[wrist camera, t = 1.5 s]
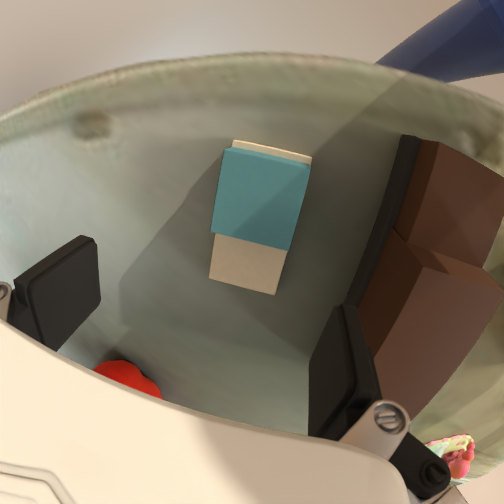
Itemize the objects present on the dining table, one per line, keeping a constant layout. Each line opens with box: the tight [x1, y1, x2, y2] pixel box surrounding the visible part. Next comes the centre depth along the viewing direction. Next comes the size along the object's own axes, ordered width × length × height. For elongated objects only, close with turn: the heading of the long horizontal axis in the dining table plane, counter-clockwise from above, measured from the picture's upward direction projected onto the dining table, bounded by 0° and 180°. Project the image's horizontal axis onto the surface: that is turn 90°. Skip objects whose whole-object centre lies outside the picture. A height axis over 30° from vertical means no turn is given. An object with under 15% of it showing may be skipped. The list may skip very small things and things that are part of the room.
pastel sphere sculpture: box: [424, 434, 475, 479], centre depth 36 cm, size 25×24×9 cm
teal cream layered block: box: [209, 140, 312, 295], centre depth 22 cm, size 12×6×4 cm, turn 168°
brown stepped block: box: [344, 135, 504, 422], centre depth 20 cm, size 24×9×9 cm, turn 168°
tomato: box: [92, 360, 162, 399], centre depth 32 cm, size 11×11×9 cm
